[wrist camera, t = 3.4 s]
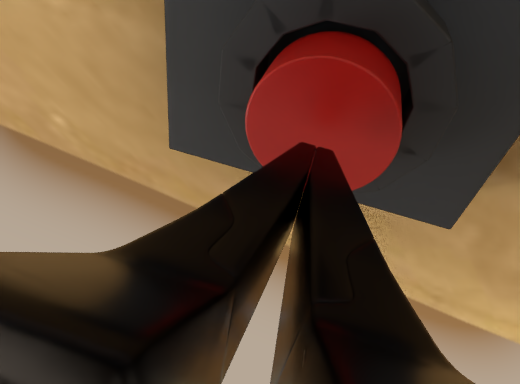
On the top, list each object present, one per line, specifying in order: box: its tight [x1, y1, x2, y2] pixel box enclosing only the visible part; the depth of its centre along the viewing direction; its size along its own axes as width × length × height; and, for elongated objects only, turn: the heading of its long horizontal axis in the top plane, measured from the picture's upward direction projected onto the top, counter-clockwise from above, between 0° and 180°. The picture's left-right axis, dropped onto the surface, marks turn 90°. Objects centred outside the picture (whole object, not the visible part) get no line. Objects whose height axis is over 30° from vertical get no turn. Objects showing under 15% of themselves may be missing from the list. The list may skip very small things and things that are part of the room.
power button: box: [245, 31, 402, 191], centre depth 11 cm, size 4×4×2 cm
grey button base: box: [164, 0, 520, 229], centre depth 13 cm, size 13×10×4 cm
